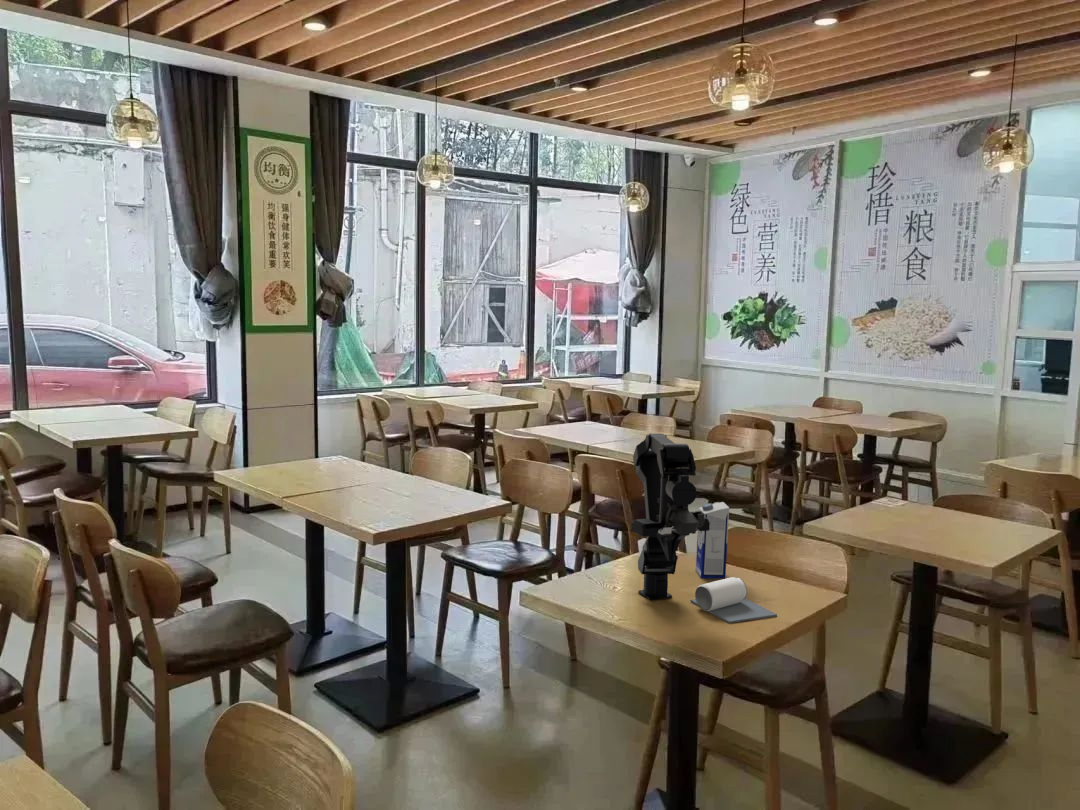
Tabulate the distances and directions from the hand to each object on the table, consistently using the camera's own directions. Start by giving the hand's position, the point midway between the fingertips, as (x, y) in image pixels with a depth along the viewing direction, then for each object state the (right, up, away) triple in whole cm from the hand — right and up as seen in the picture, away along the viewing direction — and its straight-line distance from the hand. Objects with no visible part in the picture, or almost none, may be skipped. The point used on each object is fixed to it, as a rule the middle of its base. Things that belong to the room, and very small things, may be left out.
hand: (669, 560), depth 207 cm
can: (+8, -10, +3) cm, 13 cm away
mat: (+16, -13, +6) cm, 22 cm away
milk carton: (+16, -10, +33) cm, 38 cm away
